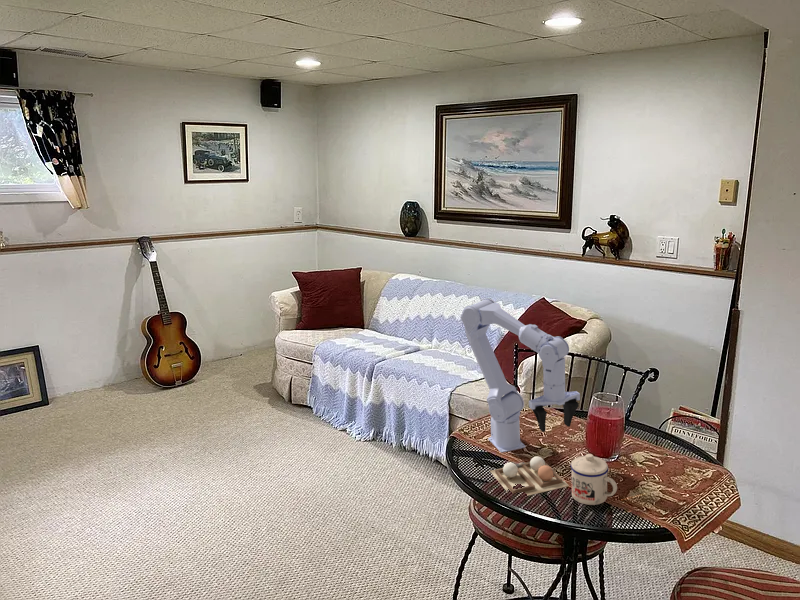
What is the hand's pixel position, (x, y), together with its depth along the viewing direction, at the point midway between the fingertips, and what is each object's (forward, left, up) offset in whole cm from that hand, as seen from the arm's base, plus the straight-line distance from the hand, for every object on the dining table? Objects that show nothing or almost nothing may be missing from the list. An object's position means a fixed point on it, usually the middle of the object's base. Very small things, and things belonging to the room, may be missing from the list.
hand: (554, 427), depth 184 cm
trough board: (+6, -11, -10) cm, 16 cm away
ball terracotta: (+8, -7, -10) cm, 15 cm away
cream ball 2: (+3, -7, -10) cm, 13 cm away
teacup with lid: (+20, 0, -11) cm, 23 cm away
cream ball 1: (+3, -15, -10) cm, 18 cm away
